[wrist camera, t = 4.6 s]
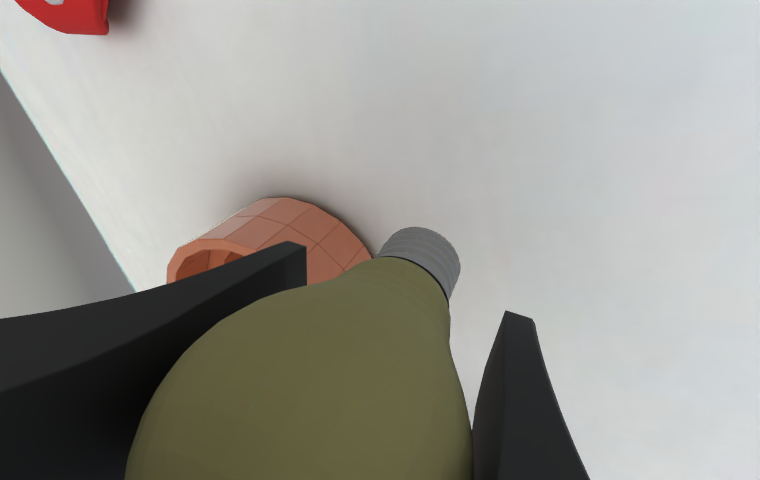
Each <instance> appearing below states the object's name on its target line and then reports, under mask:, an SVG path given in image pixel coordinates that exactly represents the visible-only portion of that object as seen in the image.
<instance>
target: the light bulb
mask: <svg viewBox="0 0 760 480" xmlns="http://www.w3.org/2000/svg"><path fill="white" fill-rule="evenodd" d="M459 273H460V262H459V258H458V255H457V253H456V251H455V249H454V248H453V246H452V245H451V244H450V243H449V242H448V241H447V240H446V239H445V238H444V237H442V236H441V235H440V234H438V233H436V232H434V231H432V230H429V229H426V228H420V227H409V228H405V229H402V230H400V231H398V232H396V233H395V234H393V235H392V236H391V237H390V239H389V240H388V241H387V242H386V243H385V244H384V246H383V247H382V249H381V251H380V252H379V254H378V255H377V256H376V257H375V258H373V259H369V260H366V261H363V262H360V263H358V264H356V265H354V266H353V267H351V268H350V269H348V270H347V271H346V272H344V273H343V274H341V275H340V276H338V277H336V278H334V279H331V280H327V281H324V282H320V283H315V284H311V285H307V286H302V287H298V288H294V289H289V290H285V291H282V292H279V293H276V294H273V295H270V296H267V297H264V298H262V299H259V300H257V301H255V302H254V303H252V304H250V305H248V306H246V307H244V308H242V309H241V310H239V311H237V312H235V313H233V314H232V315H230V316H228V317H226V318H224V319H223V320H221V321H219V322H218V323H217V324H216V325H214V326H213V327H212V328H211V329H210V330H208V331H207V332H206V333H205V334H204V335H202V336H201V337H200V338H199V339H198V340H196V341H195V342H194V343H193V344H192V345H191V346H190V347H189V348H188V349H187V350H186V351H185V352H184V353H183V354H182V356H181V357H180V358H179V359H178V361H177V362H176V363H175V364H174V366H173V367H172V368H171V370H170V371H169V372H168V373H167V375H166V376H165V378H164V379H163V381H162V382H161V383H160V385H159V386H158V388H157V389H156V391H155V393H154V395H153V397H152V398H151V400H150V402H149V404H148V406H147V408H146V409H145V411H144V413H143V415H142V418H141V420H140V423H139V426H138V429H137V432H136V435H135V438H134V441H133V444H132V447H131V450H130V452H129V455H128V460H127V465H126V472H125V478H124V480H474V457H473V436H472V431H471V426H470V421H469V416H468V411H467V407H466V402H465V398H464V394H463V390H462V387H461V384H460V380H459V377H458V374H457V371H456V368H455V365H454V362H453V359H452V355H451V350H450V345H449V338H450V313H449V299H450V297H451V294H452V291H453V289H454V287H455V284H456V282H457V279H458V276H459Z"/></svg>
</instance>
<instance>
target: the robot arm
mask: <svg viewBox="0 0 760 480" xmlns="http://www.w3.org/2000/svg"><path fill="white" fill-rule="evenodd" d="M302 286H307V246H304V245H301V244H297V243H294V242H291V241H284V242H281V243H278V244H275V245H273V246H270V247H267V248H265V249H262V250H259V251H257V252H254V253H252V254H249V255H247V256H244V257H241V258H239V259H236V260H234V261H231V262H228V263H226V264H223V265H221V266H218V267H215V268H213V269H210V270H207V271H204V272H201V273H198V274H195V275H192V276H189V277H187V278H184V279H181V280H178V281H175V282H172V283H169V284H166V285H162V286H159V287H156V288H152V289H149V290H145V291H141V292H137V293H134V294H130V295H126V296H122V297H118V298H114V299H109V300H105V301H100V302H95V303H91V304H86V305H81V306H76V307H71V308H67V309H61V310H55V311H50V312H43V313H37V314H32V315H24V316H17V317H10V318H3V319H0V480H124V478H125V472H126V465H127V460H128V455H129V452H130V450H131V447H132V444H133V441H134V438H135V435H136V432H137V429H138V426H139V423H140V420H141V418H142V415H143V413H144V411H145V409H146V408H147V406H148V404H149V402H150V400H151V398H152V397H153V395H154V393H155V391H156V389H157V388H158V386H159V385H160V383H161V382H162V381H163V379H164V378H165V376H166V375H167V373H168V372H169V371H170V370H171V368H172V367H173V366H174V364H175V363H176V362H177V361H178V359H179V358H180V357H181V356H182V354H183V353H184V352H185V351H186V350H187V349H188V348H189V347H190V346H191V345H192V344H193V343H194V342H195V341H196V340H198V339H199V338H200V337H201V336H202V335H204V334H205V333H206V332H207V331H208V330H210V329H211V328H212V327H213V326H214V325H216V324H217V323H218V322H219V321H221V320H223V319H224V318H226V317H228V316H230V315H232V314H233V313H235V312H237V311H239V310H241V309H242V308H244V307H246V306H248V305H250V304H252V303H254V302H255V301H257V300H259V299H262V298H264V297H267V296H270V295H273V294H276V293H279V292H282V291H285V290H289V289H294V288H298V287H302ZM472 436H473V457H474V480H590V478H589V476H588V474H587V472H586V470H585V467H584V465H583V463H582V461H581V459H580V456H579V454H578V452H577V450H576V447H575V445H574V442H573V440H572V438H571V435H570V433H569V430H568V428H567V426H566V423H565V421H564V418H563V415H562V413H561V410H560V408H559V405H558V402H557V399H556V396H555V393H554V391H553V388H552V385H551V382H550V379H549V376H548V373H547V370H546V366H545V363H544V359H543V356H542V352H541V349H540V345H539V341H538V336H537V332H536V326H535V323H534V321H533V320H532V319H531V318H528V317H525V316H522V315H519V314H515V313H512V312H509V311H506V310H505V313H504V316H503V319H502V321H501V324H500V327H499V330H498V333H497V335H496V338H495V341H494V344H493V347H492V349H491V352H490V355H489V358H488V361H487V363H486V366H485V370H484V374H483V378H482V382H481V386H480V390H479V394H478V398H477V402H476V407H475V414H474V421H473V429H472Z"/></svg>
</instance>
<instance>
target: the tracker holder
mask: <svg viewBox="0 0 760 480" xmlns="http://www.w3.org/2000/svg"><path fill="white" fill-rule="evenodd" d="M15 1H16V2H17V3H18V4H19V5H20V6H21V7H22V8H23V9H24V10H25V11H27V12H28V13H30V14H31V15H32V16H34V17H35V18H37V19H38V20H39V21H41V22H42V23H44V24H45V25H46V26H49V27H51V28H53V29H55V30H57V31H60V32H63V33H66V34H85V35H107V34H108V32H109V23H108V20H107V17H106V15H107V9H108V2H109V0H15Z"/></svg>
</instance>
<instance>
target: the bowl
mask: <svg viewBox="0 0 760 480" xmlns="http://www.w3.org/2000/svg"><path fill="white" fill-rule="evenodd" d="M284 241H291V242H294V243H297V244H301V245H304V246H307V285H311V284H315V283H320V282H324V281H327V280H331V279H334V278H336V277H338V276H340V275H341V274H343V273H344V272H346V271H347V270H348V269H350V268H351V267H353V266H354V265H356V264H358V263H360V262H363V261H366V260H369V259H372V258H371V256H370V254H369V252H368V251H367V249H366V247H365V246H364V244H363V243H362V242H361V241H360V240H359V239H358V238H357V237H356V236H355V235H354V234H353V233H352V232H351V231H350V230H349V229H348V228H347V227H346V226H345V225H344V224H343V223H342V222H341V221H340V220H338V219H336V218H335V217H333V216H331V215H330V214H328V213H327V212H325V211H323V210H322V209H320V208H318V207H317V206H315V205H313V204H309V203H306V202H302V201H299V200H295V199H292V198H288V197H286V198H285V197H281V198H264V199H259V200H257V201H255V202H253V203H252V204H250V205H248V206H246V207H244V208H242V209H241V210H239V211H237V212H236V213H234V214H232V215H231V216H229V217H228V218H226V219H224V220H223V221H221V222H220V223H218V224H216V225H215V226H213V227H211V228H210V229H208V230H207V231H205V232H203V233H202V234H200V235H198V236H197V237H195V238H194V239H192V240H190V241H189V242H187V243H186V244H184V245H182V246H181V247H179V248H178V249H177V250H176V252H175V254H174V256H173V257H172V259H171V261H170V262H169V264H168V267H167V284H169V283H172V282H175V281H178V280H181V279H184V278H187V277H189V276H192V275H195V274H198V273H201V272H204V271H207V270H210V269H213V268H215V267H218V266H221V265H223V264H226V263H228V262H231V261H234V260H236V259H239V258H241V257H244V256H247V255H249V254H252V253H254V252H257V251H259V250H262V249H265V248H267V247H270V246H273V245H275V244H278V243H281V242H284Z"/></svg>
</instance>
